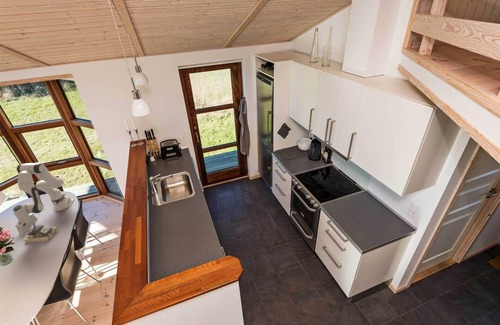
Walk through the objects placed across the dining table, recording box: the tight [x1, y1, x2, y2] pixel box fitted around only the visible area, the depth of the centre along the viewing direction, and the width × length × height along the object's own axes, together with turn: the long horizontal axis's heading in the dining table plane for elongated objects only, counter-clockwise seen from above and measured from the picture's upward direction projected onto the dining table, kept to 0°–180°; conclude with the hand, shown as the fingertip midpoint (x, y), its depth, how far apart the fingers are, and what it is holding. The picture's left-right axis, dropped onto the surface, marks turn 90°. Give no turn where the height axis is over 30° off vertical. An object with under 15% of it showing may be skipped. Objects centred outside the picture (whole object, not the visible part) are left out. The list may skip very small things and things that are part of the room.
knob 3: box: [41, 228, 52, 236], centre depth 250 cm, size 8×5×7 cm, turn 3°
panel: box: [23, 226, 58, 243], centre depth 250 cm, size 16×22×4 cm
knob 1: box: [26, 227, 35, 236], centre depth 249 cm, size 8×5×7 cm, turn 3°
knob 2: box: [33, 224, 44, 234], centre depth 248 cm, size 8×5×7 cm, turn 3°
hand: (31, 230), depth 247 cm, fingers open, 8 cm apart
